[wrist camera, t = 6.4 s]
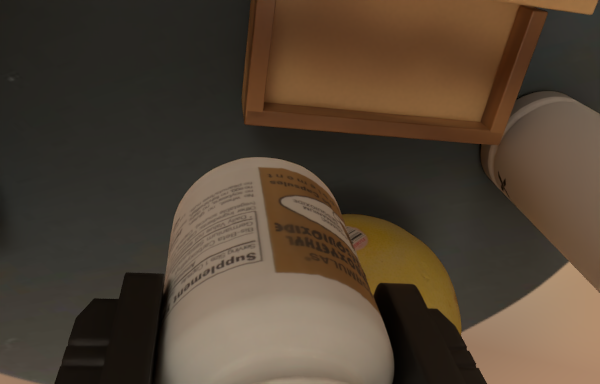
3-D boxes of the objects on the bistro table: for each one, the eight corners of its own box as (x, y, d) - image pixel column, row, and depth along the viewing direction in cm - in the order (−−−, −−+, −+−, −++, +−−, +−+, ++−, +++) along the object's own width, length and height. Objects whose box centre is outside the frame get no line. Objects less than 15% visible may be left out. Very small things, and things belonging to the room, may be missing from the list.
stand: (472, 122, 29) (528, 171, 23) (241, 101, 26) (247, 151, 21) (555, -127, 23) (653, -134, 18) (268, -185, 20) (285, -213, 15)
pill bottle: (366, 237, 14) (496, 538, 8) (237, 311, 15) (254, 644, 8) (282, 117, 12) (362, 395, 5) (136, 211, 13) (51, 554, 6)
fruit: (221, 234, 30) (224, 369, 21) (390, 156, 29) (463, 266, 20) (292, 339, 35) (317, 482, 27) (437, 277, 34) (511, 404, 26)
